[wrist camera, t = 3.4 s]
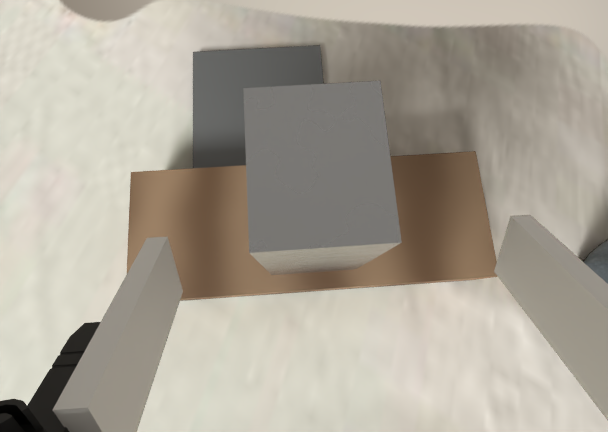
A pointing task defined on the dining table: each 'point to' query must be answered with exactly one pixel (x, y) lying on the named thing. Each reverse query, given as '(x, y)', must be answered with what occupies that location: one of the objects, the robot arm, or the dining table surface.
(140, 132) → the dining table surface
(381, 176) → the grey rectangular block
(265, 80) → the rubber pad
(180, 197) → the body
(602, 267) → the moka pot
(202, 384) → the dining table surface
